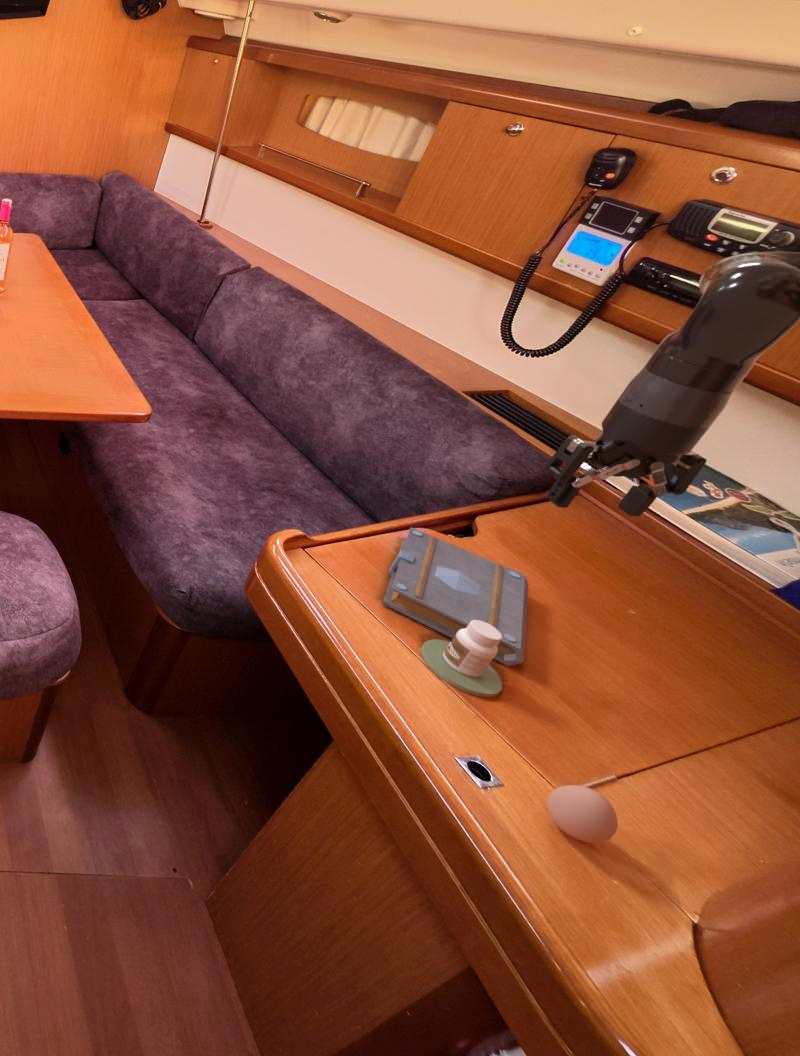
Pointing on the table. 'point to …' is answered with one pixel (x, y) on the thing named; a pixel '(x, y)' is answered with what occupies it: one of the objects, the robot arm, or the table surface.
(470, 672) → the pill bottle
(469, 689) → the coaster
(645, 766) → the table surface
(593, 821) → the egg
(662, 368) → the robot arm
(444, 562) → the book
